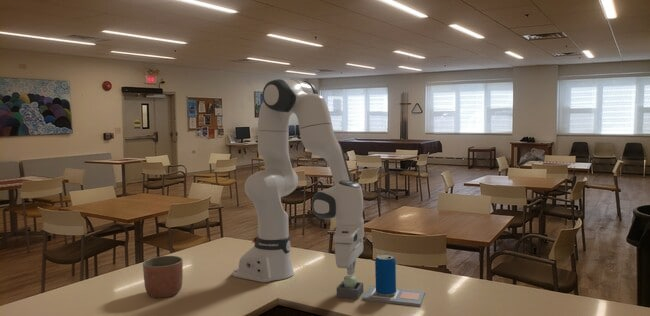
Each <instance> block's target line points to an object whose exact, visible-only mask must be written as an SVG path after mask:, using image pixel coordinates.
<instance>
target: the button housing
mask: <svg viewBox="0 0 650 316" xmlns="http://www.w3.org/2000/svg"><path fill="white" fill-rule="evenodd" d="M363 293H364V282H359V281H356V289H351V288H344V280H342V281H341V282H340V284H338V285H337V287H336V297H337V298H342V299H351V300H352V299H353V300H359V298H360V297H361V296H362V294H363Z"/></svg>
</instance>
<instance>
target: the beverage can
mask: <svg viewBox="0 0 650 316" xmlns="http://www.w3.org/2000/svg"><path fill="white" fill-rule="evenodd" d="M374 263H375V265H374V267H375V268H374V270H375V271H374V273H375V275H374V276H375V277H374V278H375V286H376V292H377V293H378V294H379V295H382V296H391V295H393V294H394V293H395V292H396V288H397V273H396V272H397V267H396V265H397V264H396V263H397V261H396V258H395V256H394V255H393V254H389V253H381V254H377V255H376V258H375V260H374Z"/></svg>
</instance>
